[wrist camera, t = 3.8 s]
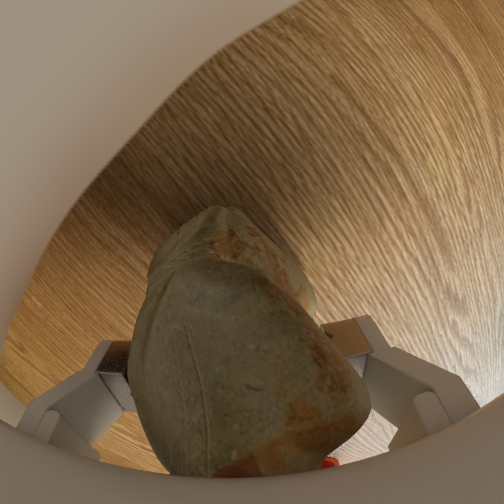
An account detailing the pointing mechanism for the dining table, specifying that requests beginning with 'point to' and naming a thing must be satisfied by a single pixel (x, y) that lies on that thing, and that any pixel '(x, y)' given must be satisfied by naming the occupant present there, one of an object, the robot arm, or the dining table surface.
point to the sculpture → (237, 358)
